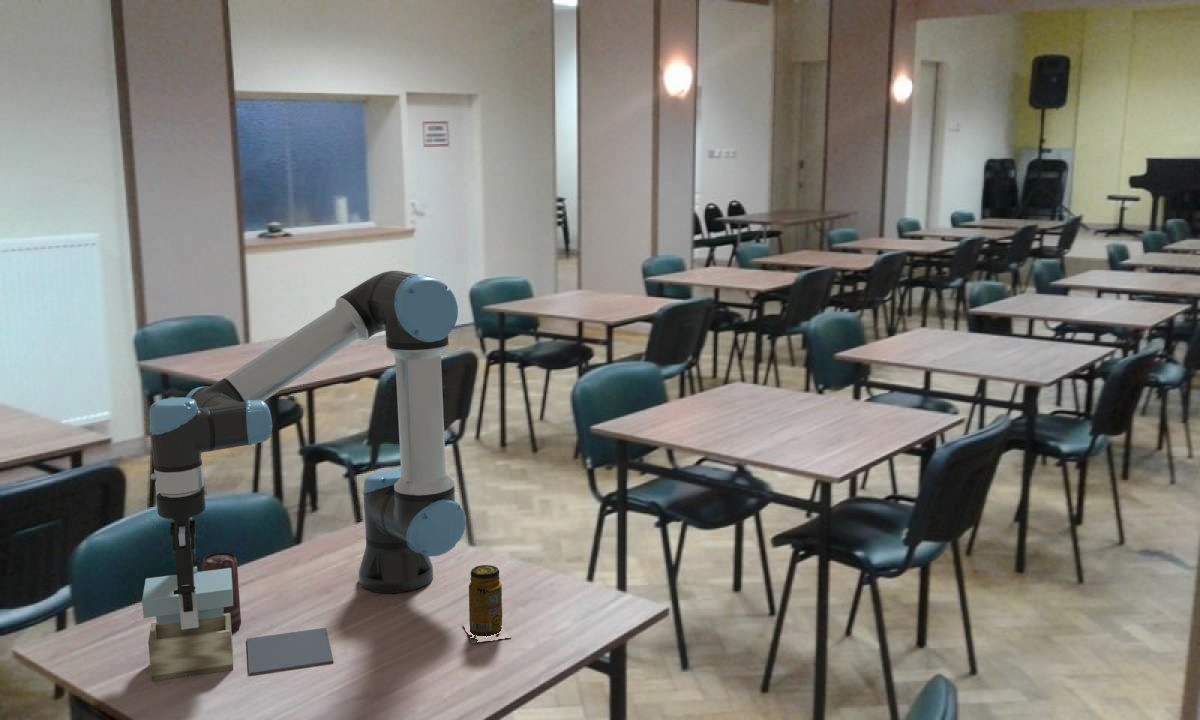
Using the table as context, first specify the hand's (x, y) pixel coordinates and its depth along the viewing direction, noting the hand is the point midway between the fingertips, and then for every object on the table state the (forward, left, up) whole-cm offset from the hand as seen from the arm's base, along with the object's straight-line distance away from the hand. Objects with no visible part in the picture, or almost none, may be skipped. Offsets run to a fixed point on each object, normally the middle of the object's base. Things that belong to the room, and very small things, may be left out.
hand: (190, 614), depth 186 cm
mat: (-16, 0, -9) cm, 18 cm away
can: (-5, -14, -9) cm, 17 cm away
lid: (0, 0, +3) cm, 3 cm away
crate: (0, 0, -9) cm, 9 cm away
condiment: (-51, +4, -10) cm, 52 cm away
